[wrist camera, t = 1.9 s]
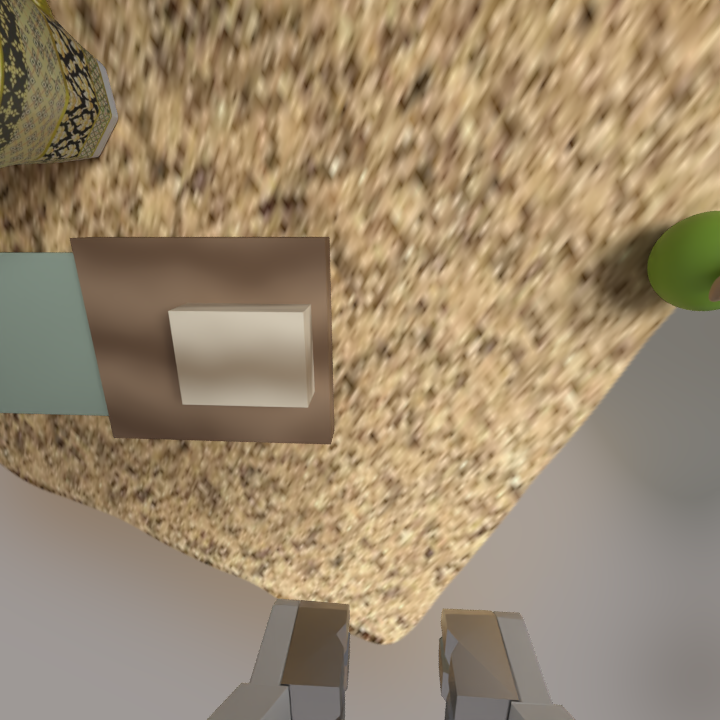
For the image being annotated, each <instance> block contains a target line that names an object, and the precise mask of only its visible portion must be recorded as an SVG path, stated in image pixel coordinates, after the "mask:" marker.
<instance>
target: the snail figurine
mask: <svg viewBox="0 0 720 720" xmlns="http://www.w3.org/2000/svg"><path fill="white" fill-rule="evenodd" d="M647 273H648V278H649V281H650V284H651V286H652V287H653V289H654V291H655V292H656V293H657V294H658V295H659V296H660V297H661V298H662V299H663V300H665V301H666V302H668V303H670V304H672V305H674V306H676V307H679V308H682V309H686V310H692V311H711V310H717V309H720V211H710V212H704V213H700V214H696V215H693V216H691V217H688V218H686V219H684V220H682V221H680V222H678V223H677V224H675V225H673V226H672V227H671V228H669V229H668V230H667V231H666V232H665V233H664V234H663V235H662V236H661V237H660V238H659V239H658V241H657V242H656V243H655V245H654V247H653V248H652V250H651V253H650V255H649V259H648V265H647Z"/></svg>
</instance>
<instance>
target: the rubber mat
mask: <svg viewBox="0 0 720 720" xmlns="http://www.w3.org/2000/svg"><path fill="white" fill-rule="evenodd" d="M0 413H26V414H63V415H99V416H109V414H108V410H107V405H106V401H105V396H104V391H103V387H102V382H101V378H100V373H99V369H98V364H97V360H96V355H95V351H94V346H93V341H92V337H91V332H90V328H89V323H88V319H87V314H86V310H85V305H84V301H83V296H82V291H81V287H80V282H79V278H78V273H77V269H76V264H75V260H74V255H73V253H33V252H0Z"/></svg>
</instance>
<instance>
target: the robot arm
mask: <svg viewBox="0 0 720 720" xmlns="http://www.w3.org/2000/svg"><path fill="white" fill-rule="evenodd" d="M349 620H350V610H349V604H339V603H327V602H316V601H304V600H289V599H277V600H276V601H275V603H274V605H273V607H272V610H271V613H270V617H269V620H268V623H267V627H266V630H265V634H264V637H263V640H262V643H261V646H260V650H259V653H258V656H257V660H256V663H255V666H254V669H253V673H252V676H251V679H250V683H241V684H240V685H239V686H238V687H237V688H236V689H235V690H234V692H232V694H231V695H230V696H229V697H228V698H227V699H226V700H225V701H224V702H223V703H222V704H221V705H220V706H219V707H218V708H217V709H216V710H215V712H214V713H213V714H212V715H211V716H210V717H209V718H208V719H207V720H345V691H346V690H347V687H348V673H349V658H350V633H349V632H348V631H349ZM441 629H442V637H441V638H440V639H439V677H440V688H441V696H442V697H443V698H444V700H445V701H446V709H445V720H575V719H574V718H573V717H572V716H571V715H570V713H569V712H568V711H567V710H566V709H565V708H564V707H563V706H562V705H555V704H553V702H552V699H551V696H550V693H549V691H548V688H547V685H546V682H545V679H544V676H543V673H542V670H541V668H540V665H539V662H538V659H537V656H536V653H535V651H534V647H533V645H532V642H531V639H530V636H529V633H528V630H527V627H526V624H525V622H524V619H523V617H522V616H521V614H520V613H514V612H496V611H494V612H492V611H486V610H462V609H443V610H442V614H441Z"/></svg>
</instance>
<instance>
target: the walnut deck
mask: <svg viewBox="0 0 720 720" xmlns="http://www.w3.org/2000/svg"><path fill="white" fill-rule="evenodd" d="M70 241H71V246H72V250H73V255H74V260H75V264H76V269H77V273H78V278H79V282H80V287H81V291H82V296H83V301H84V305H85V310H86V314H87V319H88V323H89V328H90V332H91V337H92V341H93V346H94V351H95V355H96V360H97V364H98V369H99V373H100V378H101V382H102V387H103V391H104V396H105V401H106V405H107V410H108V414H109V419H110V423H111V428H112V432H113V437H114V438H140V439H173V440H206V441H238V442H271V443H304V444H331V442H332V438H333V434H334V400H333V361H332V322H331V283H330V244H329V237H85V238H70ZM187 303H240V304H311V316H312V340H313V364H314V388H315V392H314V395H313V397H312V399H311V401H310V404H309V406H308V408H302V407H262V406H222V405H183V404H182V397H181V391H180V385H179V378H178V372H177V365H176V359H175V352H174V346H173V339H172V333H171V326H170V320H169V313H168V311H169V310H172V309H174V308H177V307H179V306H182V305H184V304H187Z"/></svg>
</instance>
